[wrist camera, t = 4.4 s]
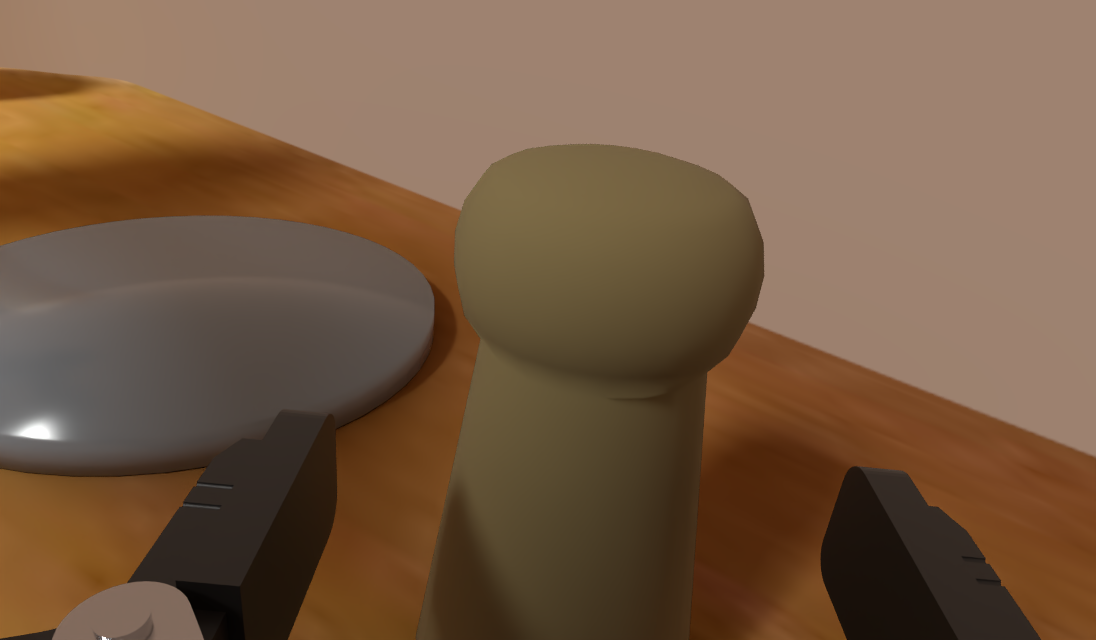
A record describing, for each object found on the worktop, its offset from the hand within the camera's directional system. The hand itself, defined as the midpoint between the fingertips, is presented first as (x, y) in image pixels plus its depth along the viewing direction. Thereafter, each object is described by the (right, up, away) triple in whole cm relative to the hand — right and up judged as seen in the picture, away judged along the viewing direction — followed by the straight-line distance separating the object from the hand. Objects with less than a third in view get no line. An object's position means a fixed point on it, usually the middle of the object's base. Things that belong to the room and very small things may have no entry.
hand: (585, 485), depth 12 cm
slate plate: (-14, +2, +16) cm, 22 cm away
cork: (-1, -5, +5) cm, 7 cm away
